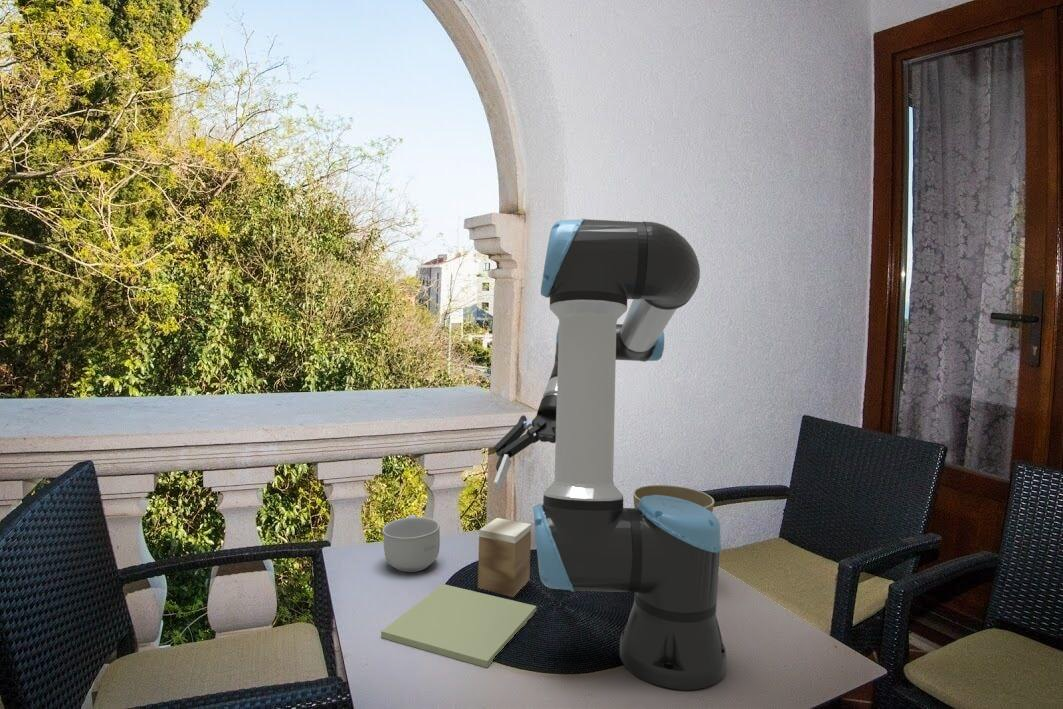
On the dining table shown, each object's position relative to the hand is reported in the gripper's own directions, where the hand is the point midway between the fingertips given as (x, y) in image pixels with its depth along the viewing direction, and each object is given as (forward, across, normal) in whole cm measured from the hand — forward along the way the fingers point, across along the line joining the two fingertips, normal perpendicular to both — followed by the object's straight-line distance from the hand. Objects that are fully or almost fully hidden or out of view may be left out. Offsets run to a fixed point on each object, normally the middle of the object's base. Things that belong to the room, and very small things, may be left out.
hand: (528, 491), depth 124 cm
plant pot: (+6, -26, -15) cm, 31 cm away
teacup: (+17, +20, -4) cm, 27 cm away
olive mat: (+28, 0, +8) cm, 30 cm away
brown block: (+18, 0, -3) cm, 18 cm away
